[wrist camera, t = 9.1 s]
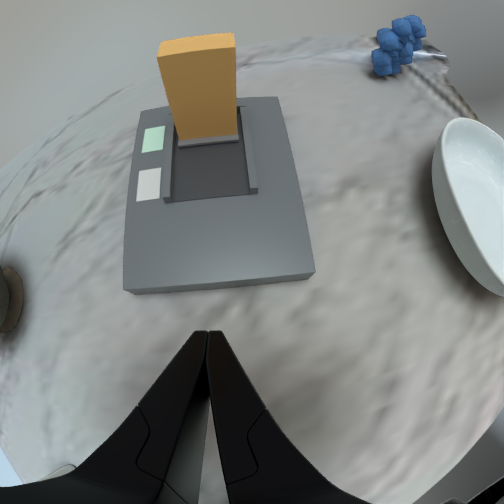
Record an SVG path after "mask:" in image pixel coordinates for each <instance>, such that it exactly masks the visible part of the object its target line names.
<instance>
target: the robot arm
mask: <svg viewBox="0 0 504 504" xmlns="http://www.w3.org/2000/svg"><path fill="white" fill-rule="evenodd" d="M210 400H211V407H212V414H213V420H214V426H215V432H216V438H217V444H218V449H219V455H220V460H221V465H222V470H223V475H224V480H225V485H226V490H227V494H228V499H229V504H371V503H369V502H367V501H364V500H362V499H360V498H357V497H355V496H353V495H351V494H349V493H347V492H344V491H343V490H341V489H339V488H338V487H336V486H335V485H333V484H332V483H331V482H330V481H328V480H327V479H326V478H325V477H324V476H323V475H322V474H321V473H320V472H319V471H318V470H317V469H316V468H315V467H314V466H313V465H312V464H311V463H310V462H309V461H308V460H307V459H306V458H305V457H304V456H303V455H302V454H301V453H300V451H299V450H298V449H297V448H296V447H295V446H294V445H293V444H292V443H291V441H290V440H289V439H288V438H287V437H286V435H285V434H284V433H283V432H282V430H281V429H280V427H279V426H278V424H277V423H276V422H275V420H274V419H273V417H272V416H271V414H270V412H269V411H268V409H266V406H265V405H264V403H263V401H262V400H261V398H260V396H259V395H258V393H257V391H256V390H255V388H254V386H253V385H252V383H251V381H250V380H249V378H248V376H247V375H246V373H245V371H244V369H243V368H242V366H241V364H240V362H239V361H238V359H237V357H236V355H235V354H234V352H233V350H232V348H231V346H230V345H229V343H228V341H227V339H226V337H225V336H224V334H223V332H222V331H209V332H208V331H194V332H193V333H192V335H191V336H190V337H189V339H188V340H187V341H186V343H185V344H184V345H183V346H182V348H181V349H180V350H179V352H178V353H177V354H176V355H175V357H174V358H173V359H172V361H171V362H170V363H169V364H168V366H167V367H166V368H165V370H164V371H163V372H162V374H161V375H160V376H159V377H158V379H157V380H156V381H155V383H154V384H153V385H152V386H151V388H150V389H149V390H148V392H147V393H146V394H145V395H144V397H143V398H142V399H141V401H140V402H139V403H138V406H139V407H138V406H136V407H135V408H134V409H133V411H132V412H131V413H130V414H129V416H128V417H127V418H126V419H125V420H124V422H123V423H122V424H121V425H120V426H119V427H118V429H117V430H116V431H115V432H114V433H113V434H112V435H111V436H110V437H109V438H108V439H107V440H106V441H105V442H104V443H103V444H102V445H101V446H100V447H99V448H97V449H96V450H95V451H94V452H93V453H92V454H91V455H90V456H89V457H88V458H87V459H86V460H85V461H84V462H83V463H82V464H80V465H79V466H78V467H77V468H75V469H74V470H72V471H71V472H69V473H67V474H64V475H62V476H58V477H54V478H50V479H46V480H42V481H38V482H33V483H28V484H23V485H18V486H12V487H0V504H198V500H199V490H200V481H201V472H202V463H203V454H204V445H205V437H206V429H207V421H208V413H209V405H210ZM440 504H504V476H502V477H501V478H499V479H498V480H496V481H495V482H494V483H492V484H491V485H489V486H488V487H487V488H485V489H484V490H482V491H481V492H480V493H478V494H477V495H475V496H474V497H473V498H471V499H470V500H468V501H467V502H463V501H461V500H459V499H456V498H450V499H448V500H446V501H444V502H442V503H440Z"/></svg>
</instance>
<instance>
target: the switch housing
mask: <svg viewBox="0 0 504 504" xmlns="http://www.w3.org/2000/svg"><path fill="white" fill-rule="evenodd" d="M236 107H237V127H238V136H239V142H227V143H217V144H207V145H198V146H190V147H183V148H179V147H178V139H179V137H178V134H177V130H176V127H175V123H174V120H173V116H172V113H171V109H170V106H166V107H161V108H155V109H150V110H145V111H141V114H140V119H139V124H138V129H137V134H136V140H135V145H134V151H133V158H132V164H131V171H130V179H129V187H128V196H127V207H126V218H125V233H124V255H123V290H126V291H128V292H130V293H132V294H135V295H139V294H155V293H169V292H182V291H195V290H207V289H218V288H229V287H240V286H250V285H260V284H270V283H279V282H288V281H297V280H305V279H309V278H310V277H311V276H312V275H313V274H314V273H315V272H316V271H315V265H314V259H313V254H312V248H311V242H310V237H309V231H308V226H307V221H306V216H305V211H304V206H303V201H302V196H301V191H300V186H299V182H298V177H297V173H296V168H295V164H294V159H293V155H292V151H291V147H290V143H289V138H288V134H287V130H286V126H285V123H284V119H283V115H282V111H281V107H280V104H279V100H278V97H248V98H236Z"/></svg>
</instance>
